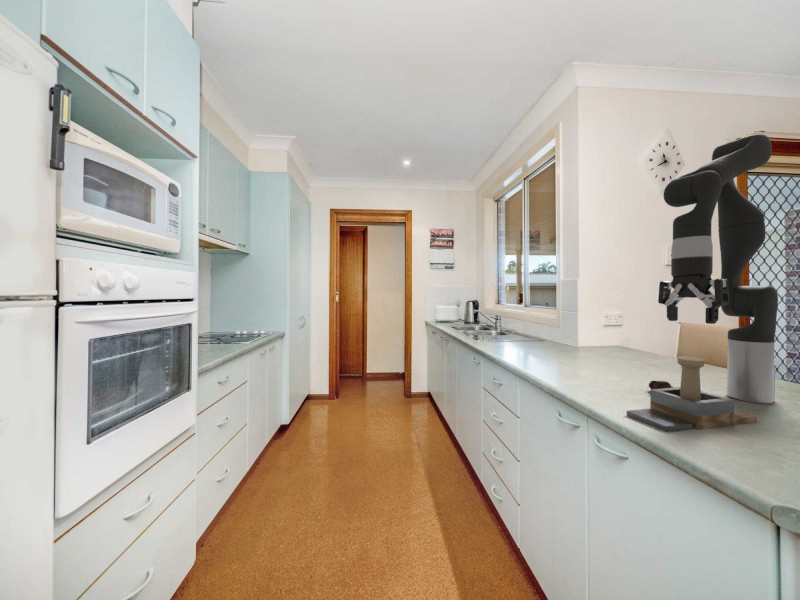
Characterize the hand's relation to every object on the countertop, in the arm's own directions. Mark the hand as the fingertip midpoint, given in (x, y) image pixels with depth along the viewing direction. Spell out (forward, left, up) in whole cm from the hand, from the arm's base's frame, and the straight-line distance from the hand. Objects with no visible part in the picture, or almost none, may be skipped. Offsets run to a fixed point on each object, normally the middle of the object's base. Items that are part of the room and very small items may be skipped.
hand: (690, 322), depth 79 cm
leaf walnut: (-4, 0, -24) cm, 24 cm away
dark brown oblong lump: (-11, -13, -24) cm, 30 cm away
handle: (0, 0, -24) cm, 24 cm away
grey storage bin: (+4, 0, -24) cm, 24 cm away
